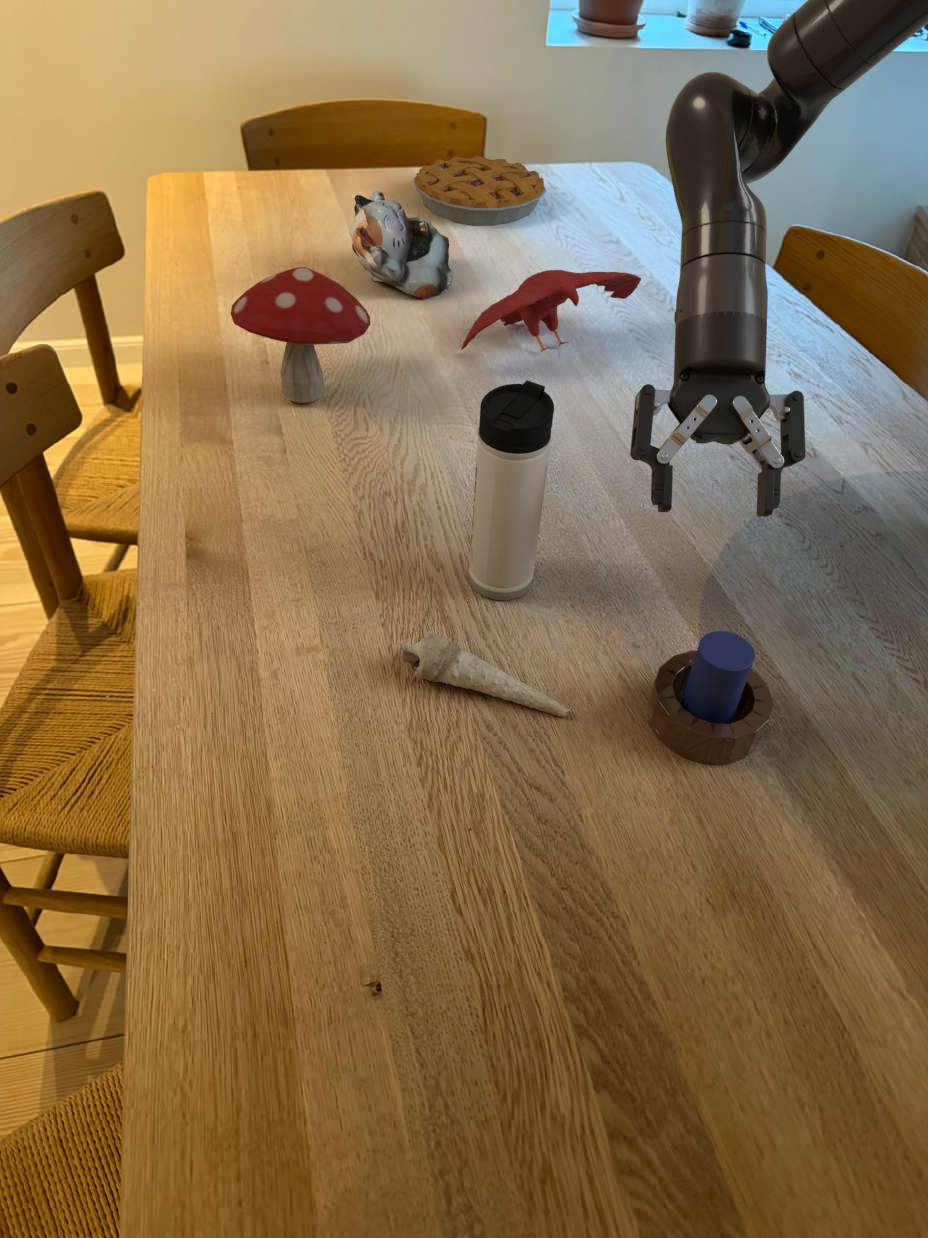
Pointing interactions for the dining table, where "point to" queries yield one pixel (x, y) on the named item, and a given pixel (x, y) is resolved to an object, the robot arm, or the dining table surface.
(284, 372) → the decorative mushroom
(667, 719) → the holder
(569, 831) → the dining table surface
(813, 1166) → the dining table surface
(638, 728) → the dining table surface
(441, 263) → the lucky cat figurine
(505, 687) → the seashell
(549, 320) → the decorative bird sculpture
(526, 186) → the pie
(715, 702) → the blue cylinder
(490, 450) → the travel mug
